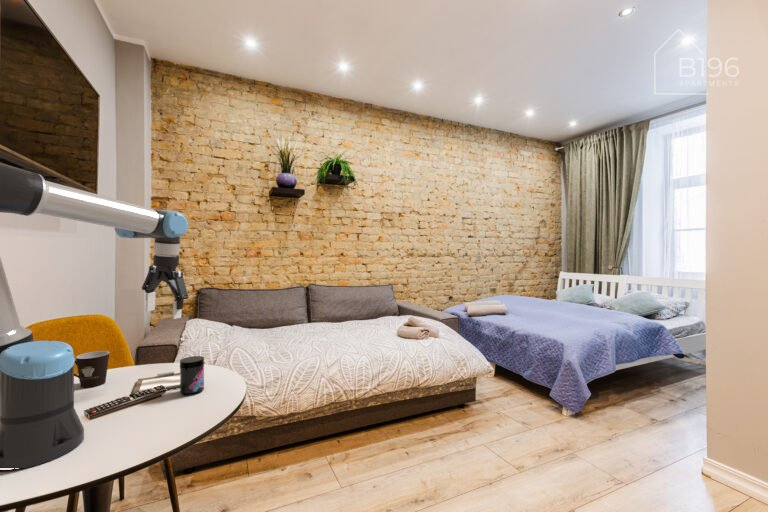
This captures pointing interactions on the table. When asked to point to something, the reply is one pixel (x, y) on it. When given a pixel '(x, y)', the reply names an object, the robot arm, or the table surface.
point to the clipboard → (158, 382)
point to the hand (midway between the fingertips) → (163, 314)
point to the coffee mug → (92, 368)
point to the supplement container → (191, 375)
